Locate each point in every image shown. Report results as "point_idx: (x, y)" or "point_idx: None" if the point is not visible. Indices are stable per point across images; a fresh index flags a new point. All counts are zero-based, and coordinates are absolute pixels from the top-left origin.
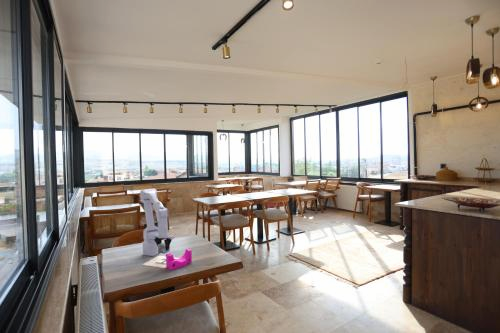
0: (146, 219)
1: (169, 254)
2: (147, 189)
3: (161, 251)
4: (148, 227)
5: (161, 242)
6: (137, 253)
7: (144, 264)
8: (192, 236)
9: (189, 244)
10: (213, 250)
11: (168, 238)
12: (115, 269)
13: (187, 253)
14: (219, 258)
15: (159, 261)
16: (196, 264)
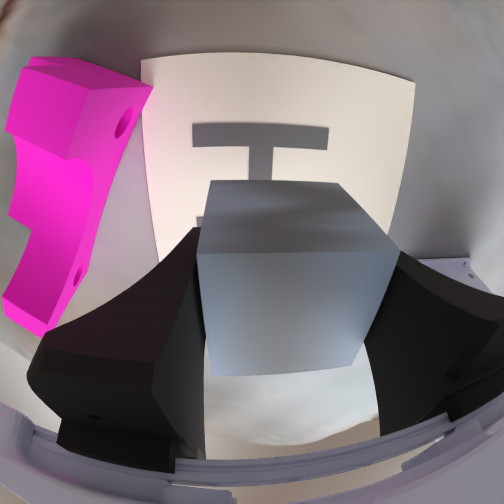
0: None
1: (43, 115)
2: None
3: (279, 190)
4: None
5: (368, 352)
6: (488, 264)
7: (400, 87)
8: (303, 441)
9: (269, 415)
10: None
11: (90, 456)
12: (499, 26)
13: (21, 280)
14: (7, 323)
15: (307, 174)
16: (8, 230)
